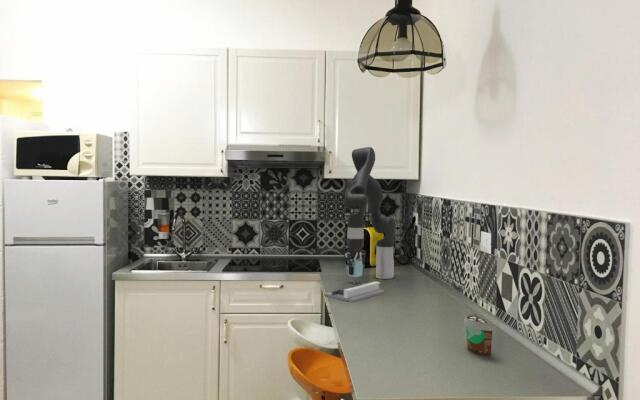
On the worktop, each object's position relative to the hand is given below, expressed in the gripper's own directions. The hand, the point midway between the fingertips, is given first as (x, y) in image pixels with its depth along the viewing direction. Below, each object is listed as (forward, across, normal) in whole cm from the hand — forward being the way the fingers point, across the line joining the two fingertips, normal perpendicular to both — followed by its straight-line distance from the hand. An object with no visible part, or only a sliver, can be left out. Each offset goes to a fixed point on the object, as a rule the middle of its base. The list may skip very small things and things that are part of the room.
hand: (354, 273), depth 215 cm
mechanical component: (+10, -19, -15) cm, 26 cm away
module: (+1, 0, 0) cm, 1 cm away
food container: (+10, +32, +71) cm, 79 cm away
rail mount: (+10, 0, 0) cm, 10 cm away
